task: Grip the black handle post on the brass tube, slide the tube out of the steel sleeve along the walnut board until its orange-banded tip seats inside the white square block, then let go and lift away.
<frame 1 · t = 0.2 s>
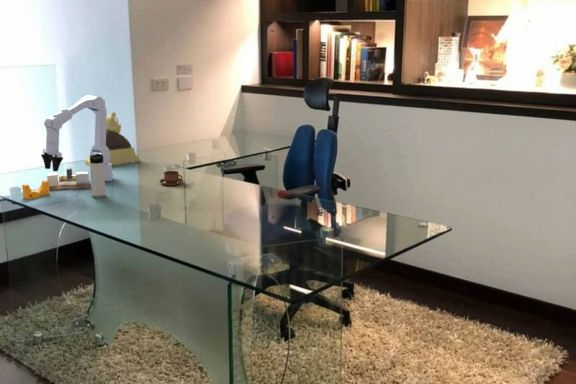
hand: (51, 170, 312), 11 cm above the table, tool pointing down, fingers open, 7 cm apart
walnut board: (67, 186, 324), on the table
cup and saucer: (171, 184, 333), on the table
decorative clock: (112, 163, 377), on the table
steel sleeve: (82, 185, 326), resting on walnut board
yellow u-shaped block: (37, 196, 306), on the table
brass tube: (73, 174, 323), point 6 cm above the table, slide at 0.0 cm
travel mug: (98, 196, 308), on the table
white square block: (53, 186, 322), resting on walnut board
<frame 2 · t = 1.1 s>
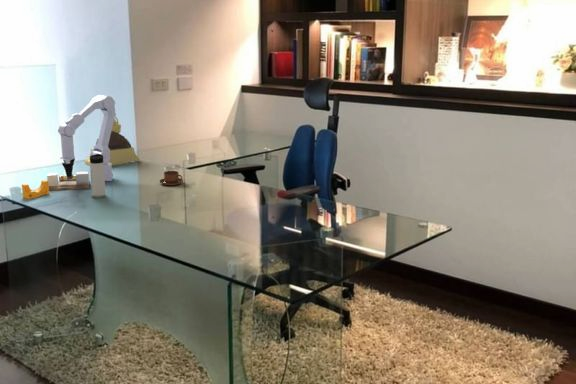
hand: (69, 174, 323), 6 cm above the table, tool pointing down, fingers open, 7 cm apart
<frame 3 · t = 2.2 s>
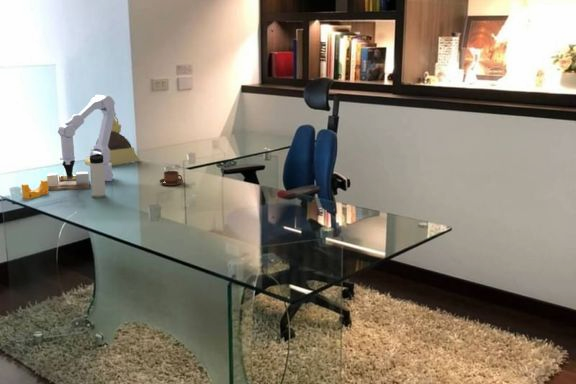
hand: (69, 175, 323), 5 cm above the table, tool pointing down, fingers closed on brass tube, 3 cm apart
brass tube: (73, 174, 323), point 6 cm above the table, slide at 0.0 cm, touching gripper
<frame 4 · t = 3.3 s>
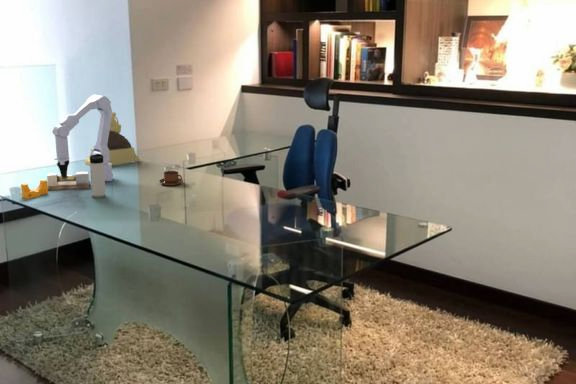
hand: (64, 175, 322), 5 cm above the table, tool pointing down, fingers closed on brass tube, 3 cm apart
brass tube: (67, 175, 323), point 6 cm above the table, slide at 2.6 cm, touching gripper
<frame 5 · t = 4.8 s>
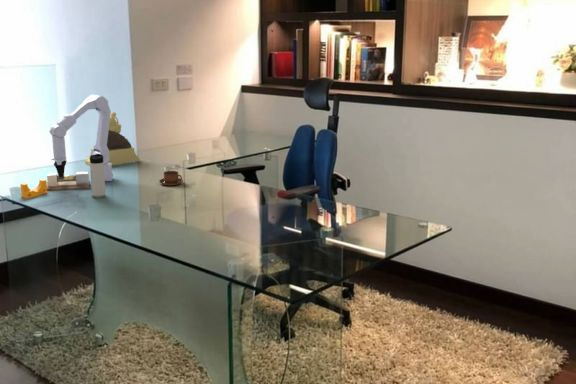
hand: (61, 175, 322), 5 cm above the table, tool pointing down, fingers closed on brass tube, 3 cm apart
brass tube: (64, 175, 322), point 6 cm above the table, slide at 4.0 cm, touching gripper
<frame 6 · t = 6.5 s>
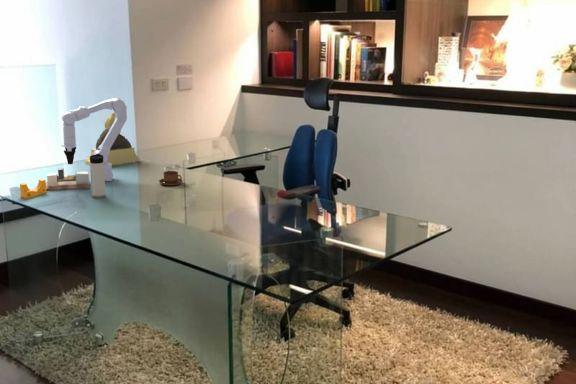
hand: (70, 162, 329), 10 cm above the table, tool pointing down, fingers open, 7 cm apart
brass tube: (64, 175, 322), point 6 cm above the table, slide at 4.0 cm
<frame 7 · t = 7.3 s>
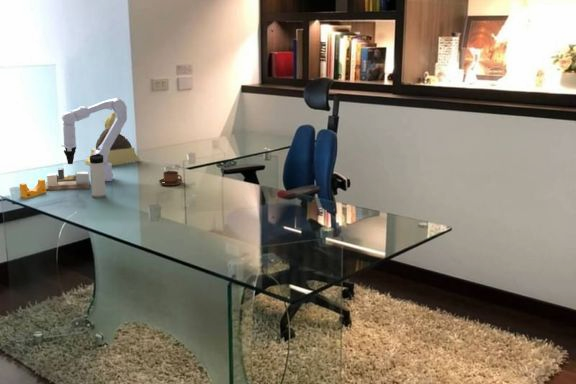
hand: (70, 162, 329), 10 cm above the table, tool pointing down, fingers open, 7 cm apart
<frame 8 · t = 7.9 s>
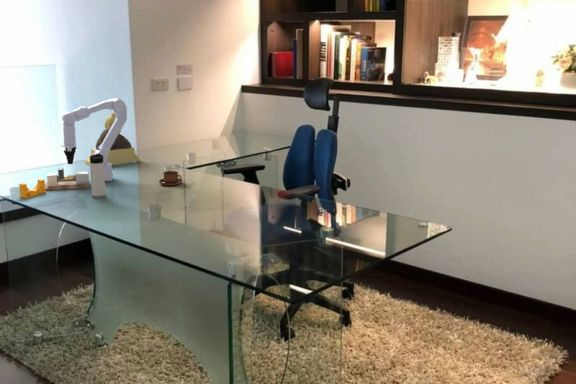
hand: (70, 162, 329), 10 cm above the table, tool pointing down, fingers open, 7 cm apart
at the end: brass tube slide at 4.0 cm; the gripper is holding nothing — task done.
